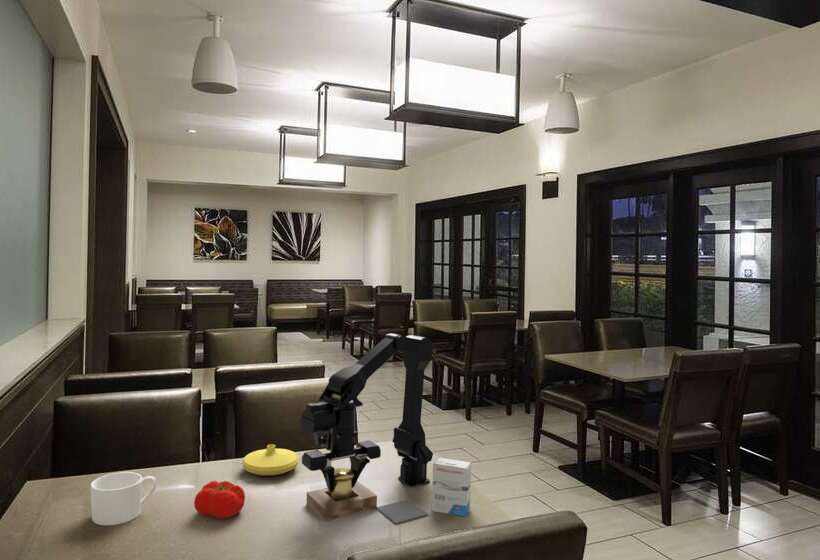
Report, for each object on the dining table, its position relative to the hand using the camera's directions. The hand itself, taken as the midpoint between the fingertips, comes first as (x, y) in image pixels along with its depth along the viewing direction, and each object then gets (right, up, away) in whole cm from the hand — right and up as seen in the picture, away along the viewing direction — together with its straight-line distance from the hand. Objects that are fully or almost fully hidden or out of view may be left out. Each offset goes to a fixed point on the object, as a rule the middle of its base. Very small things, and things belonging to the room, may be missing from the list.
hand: (341, 489), depth 136 cm
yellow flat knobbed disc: (-22, -3, +21) cm, 31 cm away
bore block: (0, -4, 0) cm, 4 cm away
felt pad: (+15, -5, -2) cm, 16 cm away
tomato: (-28, -4, -5) cm, 28 cm away
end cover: (0, -4, 0) cm, 4 cm away
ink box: (+27, -5, 0) cm, 27 cm away
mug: (-49, -3, -7) cm, 50 cm away
